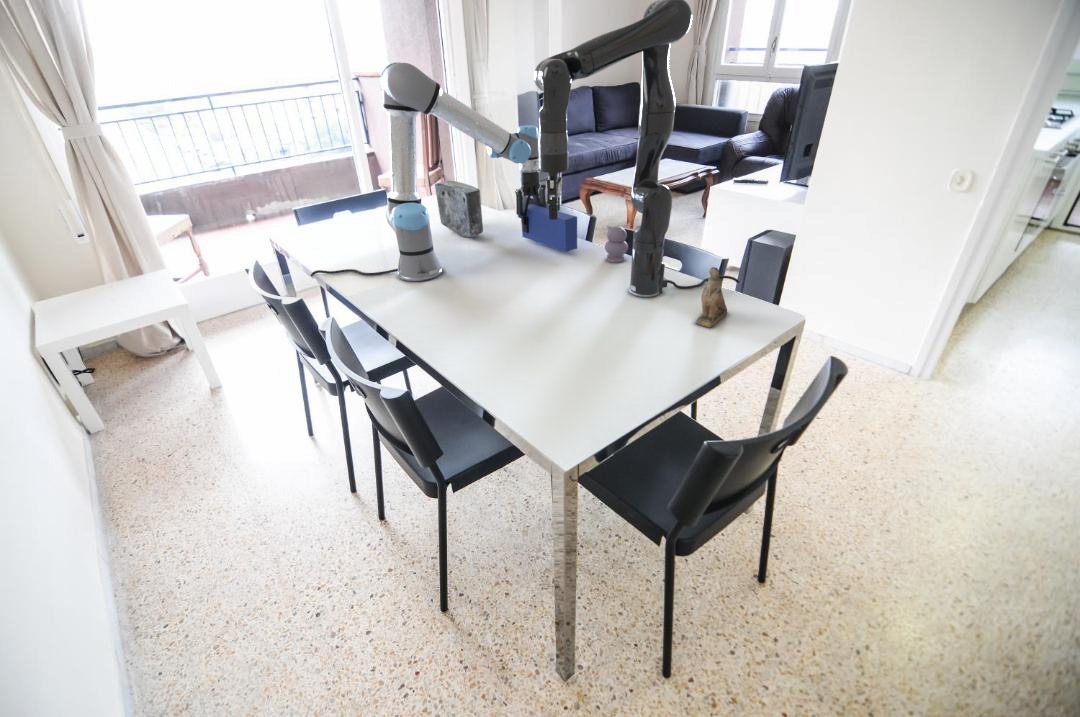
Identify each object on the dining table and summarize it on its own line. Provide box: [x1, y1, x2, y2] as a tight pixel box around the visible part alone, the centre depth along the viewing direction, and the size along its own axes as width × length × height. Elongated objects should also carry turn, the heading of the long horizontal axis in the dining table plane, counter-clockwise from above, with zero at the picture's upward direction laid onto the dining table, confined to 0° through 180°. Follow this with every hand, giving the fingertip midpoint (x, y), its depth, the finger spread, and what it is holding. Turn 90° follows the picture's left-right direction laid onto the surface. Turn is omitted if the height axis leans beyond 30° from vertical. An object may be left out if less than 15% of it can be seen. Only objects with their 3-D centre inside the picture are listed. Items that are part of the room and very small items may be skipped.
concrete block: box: [434, 180, 484, 238], centre depth 209 cm, size 27×9×20 cm, turn 36°
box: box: [521, 203, 578, 253], centre depth 192 cm, size 27×6×12 cm, turn 39°
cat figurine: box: [604, 225, 629, 264], centre depth 178 cm, size 9×8×12 cm
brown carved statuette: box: [695, 266, 728, 328], centre depth 135 cm, size 12×6×18 cm, turn 136°
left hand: (532, 230), depth 201 cm, fingers closed on box, 6 cm apart
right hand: (554, 214), depth 134 cm, fingers open, 8 cm apart
